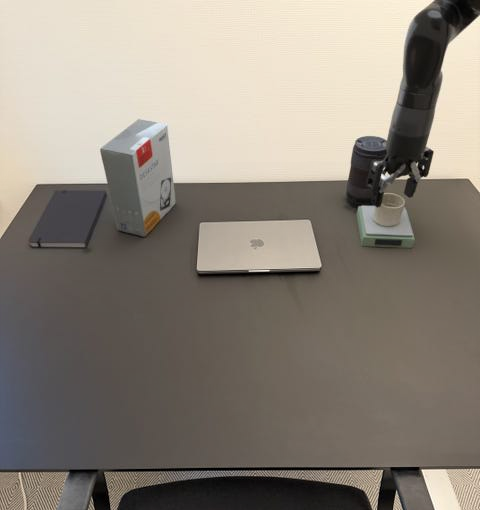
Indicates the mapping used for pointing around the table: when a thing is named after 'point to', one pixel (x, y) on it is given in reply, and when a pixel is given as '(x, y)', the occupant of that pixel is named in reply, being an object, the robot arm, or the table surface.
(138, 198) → the hard drive box
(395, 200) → the beige cup
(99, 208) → the notebook
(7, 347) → the table surface
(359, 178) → the camera lens
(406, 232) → the scale
